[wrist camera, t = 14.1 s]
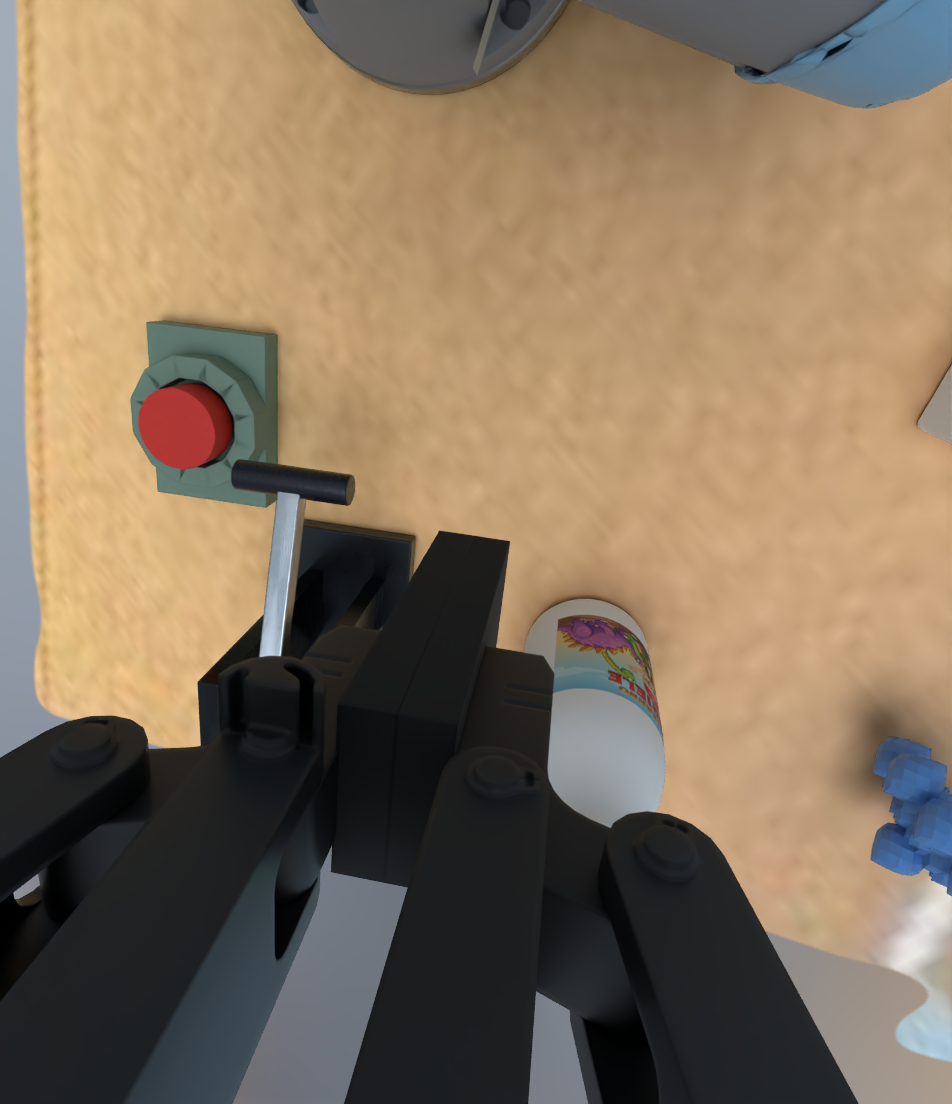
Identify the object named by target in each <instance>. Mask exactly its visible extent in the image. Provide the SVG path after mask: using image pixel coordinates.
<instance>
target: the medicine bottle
mask: <svg viewBox="0 0 952 1104" xmlns="http://www.w3.org/2000/svg"><path fill="white" fill-rule="evenodd" d="M917 425H918V428H919V429H920V430H922V431H924V432H926V433H929V434H931V435H933V436H936V437H938V438H940V439H943V440H945V441H948V442H950V443H952V365H951V367H950V369H949V370H948V372H947V374H946V375H945V377H944V379H943V380H942V382H941V384H940V385H939V387H938V389H937V390H936V392H935V394H934V395H933V397H932V399H931V401H930V402H929V404H928V406H927V407H926V409H925V411H924V412H923V414H922V416H921V417H920V419H919V421H918V424H917Z"/></svg>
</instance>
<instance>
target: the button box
mask: <svg viewBox="0 0 952 1104" xmlns="http://www.w3.org/2000/svg"><path fill="white" fill-rule="evenodd" d="M146 324H147V339H148V354H149V367H148V368H146V369H145V370H144V372H143V374H142V376H141V378H140V380H139V382H138V384H137V386H136V388H135V390H134V392H133V394H132V396H131V411H132V424H133V432H134V435H135V436H136V438H137V440H138V442H139V443H140V445H141V447H142V448H143V450H144V452H145V454H146V455H147V457H148V459H149V460H150V462H151V463H152V464H153V465H154V466H155V467H156V472H157V487H158V492H164V493H171V494H177V495H184V496H191V497H197V498H204V499H211V500H218V501H224V502H231V503H238V504H245V505H251V506H258V507H265V508H266V507H268V506H269V505H271V504H272V503H273V502H275V501H276V500H277V495H271V494H264V493H258V492H251V491H244V490H237V489H235V488H234V487H233V486H232V483H231V471H232V467H233V465H234V463H235V461H236V460H238V459H244V460H251V461H258V462H265V463H272V464H277V335H274V334H266V333H258V332H250V331H241V330H233V329H225V328H217V327H209V326H201V325H193V324H185V323H177V322H169V321H155V322H147V323H146ZM185 383H194V384H199V385H201V386H204V387H206V388H208V389H210V390H211V391H213V392H214V393H215V394H216V395H218V396H219V398H220V399H221V400H222V401H223V402H224V404H225V405H226V407H227V409H228V411H229V414H230V416H231V421H232V437H231V441H230V443H229V445H228V447H227V449H226V450H225V451H224V452H223V453H222V454H221V455H220V456H218V457H217V458H215V459H213V460H210V461H208V462H206V463H204V464H202V465H200V466H197V467H195V468H191V469H177V468H173V467H170V466H168V465H166V464H164V463H162V462H160V461H159V460H158V459H157V458H155V457H154V456H153V455H152V454H151V453H150V451H149V450H148V449H147V447H146V446H145V444H144V442H143V440H142V438H141V435H140V431H139V425H138V417H139V412H140V408H141V406H142V404H143V402H144V401H145V399H146V398H147V397H148V396H149V395H150V394H151V393H153V392H155V391H157V390H159V389H163V388H167V387H172V386H176V385H180V384H185Z"/></svg>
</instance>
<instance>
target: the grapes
mask: <svg viewBox="0 0 952 1104" xmlns="http://www.w3.org/2000/svg"><path fill="white" fill-rule="evenodd" d="M930 757H931V749H930V748H928V747H926V746H923V745H921V744H919V743H916V742H914V741H911V740H909V739H903V738H896V737H889V738H888V739H887V740H885V741H884V742H883V743H881V744H880V745H879V748H878V751H877V755H876V759H875V762H874V771H873V773H874V774H877V775H879V776H881V777H883V785H882V786H883V787H884V792H886V793H888V794H890V795H892V796H893V800H892V803H891V807H890V811H889V812H892V813H894V816H893V817H894V818H895V822H896V823H897V824H895V823H887V824H885V825H883V826H882V827H881V828H879V829H878V830H877V832H876V835H875V839H874V843H873V846H872V852H871V860H872V861H874V862H875V863H877V864H879V865H881V866H883V867H885V868H887V869H889V870H891V871H893V872H896V873H899V874H902V875H909V876H913V875H915V874H918V873H919V872H920V871H921V870H922V869H923V868H925V869H926V870H928V871H930V873H929V876H931V877H932V879H931V880H932V881H934V882H936V883H938V884H940V885H943V886H945V887H947V894H949V895H950V896H952V795H951V794H949V788H947V787H945V786H944V784H945V779H946V771H947V766H946V765H943V764H941V763H939V762H936V761H934V760H932V759H930Z"/></svg>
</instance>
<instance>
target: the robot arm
mask: <svg viewBox="0 0 952 1104" xmlns="http://www.w3.org/2000/svg"><path fill="white" fill-rule="evenodd" d="M292 1H293V3H294V5H295V6H296V8H297V10H298V11H299V13H300V14H301V16H302V17H303V19H304V20H305V22H306V23H307V24H308V25H309V27H310V28H311V29H312V30H313V32H314V33H315V34H316V35H317V37H318V38H319V39H320V40H321V41H322V42H323V43H324V44H325V45H326V46H327V47H328V48H329V49H330V50H331V51H332V52H333V53H334V54H336V55H337V56H338V57H339V58H340V59H341V60H342V61H344V62H345V63H346V64H347V65H348V66H350V67H351V68H352V69H354V70H355V71H357V72H358V73H360V74H361V75H363V76H365V77H367V78H369V79H370V80H372V81H374V82H376V83H379V84H381V85H384V86H386V87H389V88H392V89H395V90H399V91H403V92H408V93H415V94H432V95H435V94H446V93H453V92H457V91H462V90H466V89H469V88H472V87H475V86H478V85H480V84H482V83H485V82H487V81H489V80H491V79H493V78H495V77H497V76H498V75H500V74H502V73H504V72H505V71H507V70H508V69H510V68H511V67H512V66H514V65H515V64H516V63H518V62H519V61H520V60H521V59H523V58H524V57H525V56H526V55H527V54H528V53H529V52H530V51H532V50H533V49H534V48H535V46H536V45H537V44H538V43H539V42H540V41H541V40H542V39H543V38H544V37H545V35H546V34H547V33H548V32H549V30H550V29H551V28H552V26H553V25H554V24H555V22H556V21H557V20H558V18H559V16H560V15H561V13H562V12H563V10H564V9H565V7H566V5H567V4H568V2H569V0H292ZM576 1H579V2H581V3H584V4H586V5H589V6H591V7H594V8H596V9H598V10H601V11H603V12H606V13H608V14H611V15H613V16H616V17H618V18H620V19H623V20H625V21H628V22H630V23H633V24H635V25H638V26H640V27H642V28H645V29H647V30H650V31H652V32H655V33H657V34H660V35H662V36H664V37H667V38H669V39H672V40H674V41H677V42H679V43H682V44H684V45H686V46H689V47H691V48H694V49H696V50H699V51H701V52H704V53H706V54H708V55H711V56H713V57H716V58H718V59H721V60H723V61H726V62H728V63H730V64H733V65H734V67H735V73H736V74H737V75H738V76H740V77H741V78H743V79H745V80H747V81H750V82H752V83H756V84H772V83H781V84H784V85H786V86H789V87H792V88H795V89H798V90H801V91H804V92H807V93H809V94H812V95H815V96H818V97H821V98H824V99H827V100H830V101H833V102H835V103H838V104H842V105H845V106H849V107H854V108H876V107H879V106H882V105H885V104H888V103H893V102H895V101H897V100H908V99H911V98H913V97H916V96H919V95H921V94H923V93H925V92H928V91H929V90H931V89H933V88H935V87H936V86H938V85H940V84H942V83H944V82H946V81H947V80H949V79H951V78H952V0H576ZM509 545H510V541H505V540H498V539H492V538H485V537H478V536H472V535H465V534H458V533H452V532H445V531H439V532H438V534H437V536H436V537H435V539H434V541H433V543H432V544H431V546H430V548H429V549H428V551H427V553H426V554H425V556H424V558H423V560H422V561H421V563H420V565H419V566H418V568H417V570H416V571H415V573H414V575H413V577H412V578H411V580H410V582H409V583H408V585H407V587H406V588H405V590H404V592H403V593H402V595H401V597H400V599H399V600H398V602H397V604H396V605H395V607H394V609H393V610H392V612H391V614H390V616H389V617H388V619H387V621H386V622H385V624H384V626H383V627H382V629H381V631H377V630H371V629H365V628H359V627H353V626H347V625H340V626H339V627H337V628H335V629H333V630H331V631H329V632H328V633H326V634H324V635H322V636H320V637H319V639H318V640H317V641H316V643H315V644H314V645H313V647H312V648H311V649H310V651H309V652H308V655H307V656H305V657H304V659H303V660H300V659H297V658H294V657H287V656H264V657H256V658H250V659H247V660H244V661H241V662H238V663H236V664H233V665H231V666H230V667H228V668H227V669H225V670H224V671H223V672H221V673H220V674H218V682H219V709H220V732H219V733H218V734H217V736H216V737H215V738H214V739H213V740H212V742H211V743H210V744H209V745H206V746H198V747H187V748H163V749H149V748H148V739H147V736H146V733H145V731H144V728H143V727H141V726H140V725H138V724H137V723H135V722H134V721H132V720H131V719H126V718H121V717H117V716H90V717H85V718H81V719H77V720H72V721H68V722H65V723H63V724H61V725H59V726H56V727H54V728H52V729H50V730H47V731H45V732H44V733H42V734H40V735H38V736H37V737H35V738H33V739H31V740H30V741H28V742H26V743H25V744H23V745H21V746H20V747H18V748H16V749H14V750H13V751H11V752H9V753H7V754H6V755H4V756H3V757H1V758H0V1104H232V1103H233V1101H234V1099H235V1096H236V1094H237V1092H238V1089H239V1087H240V1084H241V1082H242V1080H243V1078H244V1075H245V1073H246V1071H247V1068H248V1066H249V1064H250V1061H251V1059H252V1056H253V1054H254V1052H255V1049H256V1047H257V1045H258V1042H259V1040H260V1038H261V1035H262V1033H263V1031H264V1028H265V1026H266V1023H267V1021H268V1019H269V1017H270V1014H271V1012H272V1010H273V1007H274V1004H275V1003H276V1000H277V998H278V995H279V993H280V991H281V988H282V986H283V984H284V981H285V979H286V977H287V974H288V972H289V970H290V967H291V965H292V962H293V960H294V958H295V956H296V953H297V951H298V949H299V946H300V944H301V942H302V939H303V937H304V934H305V932H306V930H307V928H308V925H309V923H310V920H311V918H312V916H313V913H314V911H315V909H316V906H317V901H318V896H319V891H320V870H321V868H322V866H323V864H324V861H325V859H326V857H327V855H328V853H329V850H330V848H331V846H332V863H331V872H333V873H338V874H343V875H348V876H354V877H358V878H363V879H368V880H374V881H378V882H383V883H388V884H394V885H398V886H403V887H408V889H407V892H406V895H405V899H404V902H403V906H402V909H401V913H400V916H399V919H398V923H397V926H396V930H395V933H394V936H393V940H392V943H391V947H390V950H389V953H388V957H387V960H386V963H385V967H384V970H383V973H382V977H381V980H380V984H379V987H378V990H377V994H376V997H375V1001H374V1004H373V1007H372V1011H371V1014H370V1018H369V1021H368V1024H367V1028H366V1031H365V1035H364V1038H363V1041H362V1045H361V1048H360V1052H359V1055H358V1058H357V1062H356V1065H355V1068H354V1072H353V1075H352V1079H351V1082H350V1085H349V1089H348V1092H347V1096H346V1099H345V1102H344V1104H528V1096H529V1082H530V1068H531V1054H532V1039H533V1025H534V1010H535V996H536V991H537V992H539V993H540V994H542V995H544V996H546V997H548V998H549V999H551V1000H553V1001H555V1002H556V1003H558V1004H560V1005H562V1006H564V1007H565V1008H567V1009H569V1010H570V1022H571V1026H572V1031H573V1035H574V1040H575V1045H576V1048H577V1054H578V1058H579V1063H580V1067H581V1072H582V1077H583V1081H584V1086H585V1090H586V1095H587V1099H588V1104H858V1102H857V1100H856V1098H855V1096H854V1095H853V1093H852V1091H851V1089H850V1087H849V1085H848V1083H847V1082H846V1080H845V1078H844V1076H843V1074H842V1072H841V1070H840V1069H839V1067H838V1065H837V1063H836V1061H835V1060H834V1058H833V1056H832V1054H831V1052H830V1050H829V1048H828V1047H827V1045H826V1043H825V1041H824V1039H823V1037H822V1036H821V1034H820V1032H819V1030H818V1028H817V1026H816V1025H815V1023H814V1021H813V1019H812V1017H811V1015H810V1013H809V1012H808V1010H807V1008H806V1006H805V1004H804V1002H803V1000H802V999H801V997H800V995H799V993H798V991H797V989H796V988H795V986H794V984H793V982H792V980H791V978H790V976H789V975H788V973H787V971H786V969H785V967H784V965H783V964H782V962H781V960H780V958H779V956H778V954H777V952H776V951H775V949H774V947H773V945H772V943H771V941H770V940H769V938H768V936H767V934H766V932H765V930H764V928H763V927H762V925H761V923H760V921H759V919H758V917H757V916H756V914H755V912H754V910H753V908H752V906H751V904H750V903H749V901H748V899H747V897H746V895H745V893H744V892H743V890H742V888H741V886H740V884H739V882H738V880H737V879H736V877H735V875H734V873H733V871H732V869H731V868H730V866H729V864H728V862H727V860H726V858H725V856H724V855H723V854H722V852H721V851H720V850H719V848H718V847H717V846H716V845H715V843H714V842H713V841H712V839H711V838H710V837H708V836H707V835H706V834H704V833H703V832H702V831H700V830H699V829H698V828H696V827H695V826H693V825H692V824H690V823H688V822H686V821H683V820H681V819H679V818H676V817H674V816H671V815H669V814H662V813H656V812H650V811H645V812H638V813H631V814H627V815H625V816H624V817H622V818H620V819H619V820H617V821H615V822H614V823H613V824H612V826H611V828H609V827H607V826H605V825H603V824H600V823H598V822H596V821H594V820H591V819H589V818H587V817H586V816H584V815H582V814H580V813H578V812H576V811H575V810H574V809H572V808H571V807H570V806H569V805H567V804H566V803H565V802H564V801H562V799H561V798H560V797H559V796H558V795H557V793H556V792H555V791H554V789H553V787H552V785H551V783H550V781H549V777H548V756H549V742H550V728H551V715H552V701H553V687H554V672H553V670H552V669H551V667H550V665H549V664H548V662H547V661H546V659H545V657H544V656H542V655H536V654H530V653H524V652H518V651H512V650H506V649H500V648H496V644H497V636H498V628H499V621H500V613H501V606H502V598H503V591H504V583H505V576H506V568H507V560H508V553H509ZM36 874H38V875H39V881H40V886H39V887H37V888H36V889H35V890H34V891H32V892H31V893H29V894H27V895H25V896H23V897H22V898H20V899H14V894H13V892H14V891H16V890H17V889H18V888H20V887H21V886H22V885H24V884H25V883H26V882H27V881H29V880H30V879H31V878H32V877H34V876H35V875H36Z"/></svg>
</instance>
